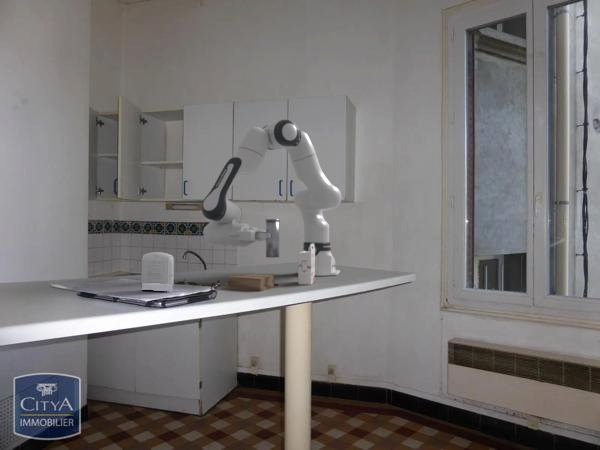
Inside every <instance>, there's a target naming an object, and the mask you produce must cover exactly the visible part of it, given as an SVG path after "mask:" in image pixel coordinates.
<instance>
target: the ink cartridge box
mask: <svg viewBox="0 0 600 450" xmlns="http://www.w3.org/2000/svg"><path fill="white" fill-rule="evenodd" d="M312 247H313V249H312ZM297 254H298V256H297V257H298V258H297V259H298V262H297V263H298V265H297V266H298V271H299V273H298V285H306V286H307V285H312V284H314V283H315V281H316V280H315V279H316V276H315V246H314V244H310V251H304V250H303V251H298V253H297Z"/></svg>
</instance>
